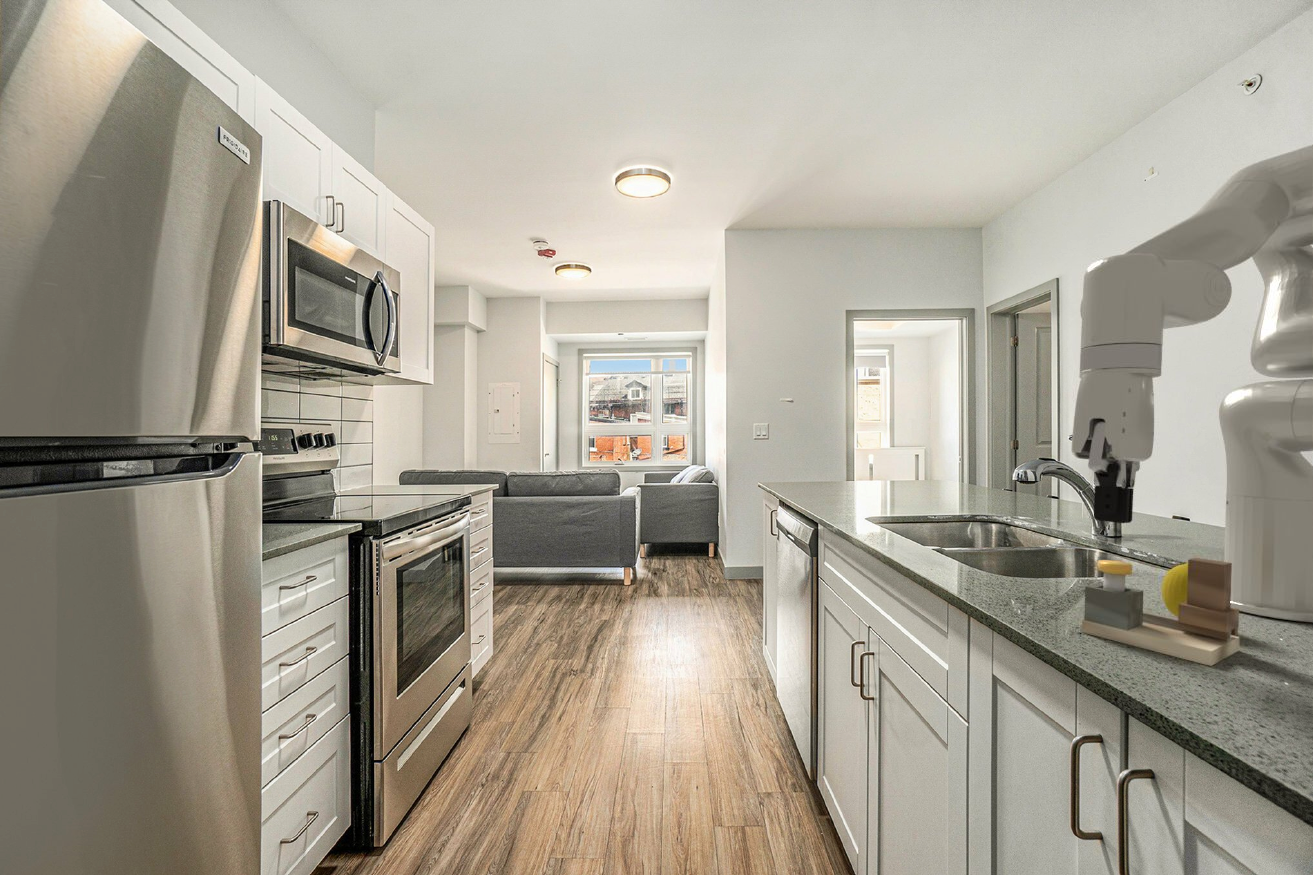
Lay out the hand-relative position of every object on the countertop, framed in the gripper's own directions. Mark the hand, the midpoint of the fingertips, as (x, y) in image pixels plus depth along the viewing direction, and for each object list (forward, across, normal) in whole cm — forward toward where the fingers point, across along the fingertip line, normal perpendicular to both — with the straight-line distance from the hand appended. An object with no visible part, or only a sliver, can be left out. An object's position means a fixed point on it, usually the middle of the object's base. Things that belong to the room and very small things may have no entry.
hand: (1112, 521), depth 68 cm
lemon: (+13, -14, +3) cm, 20 cm away
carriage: (+11, -5, +7) cm, 15 cm away
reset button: (+10, -1, 0) cm, 10 cm away
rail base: (+13, -3, +4) cm, 14 cm away
